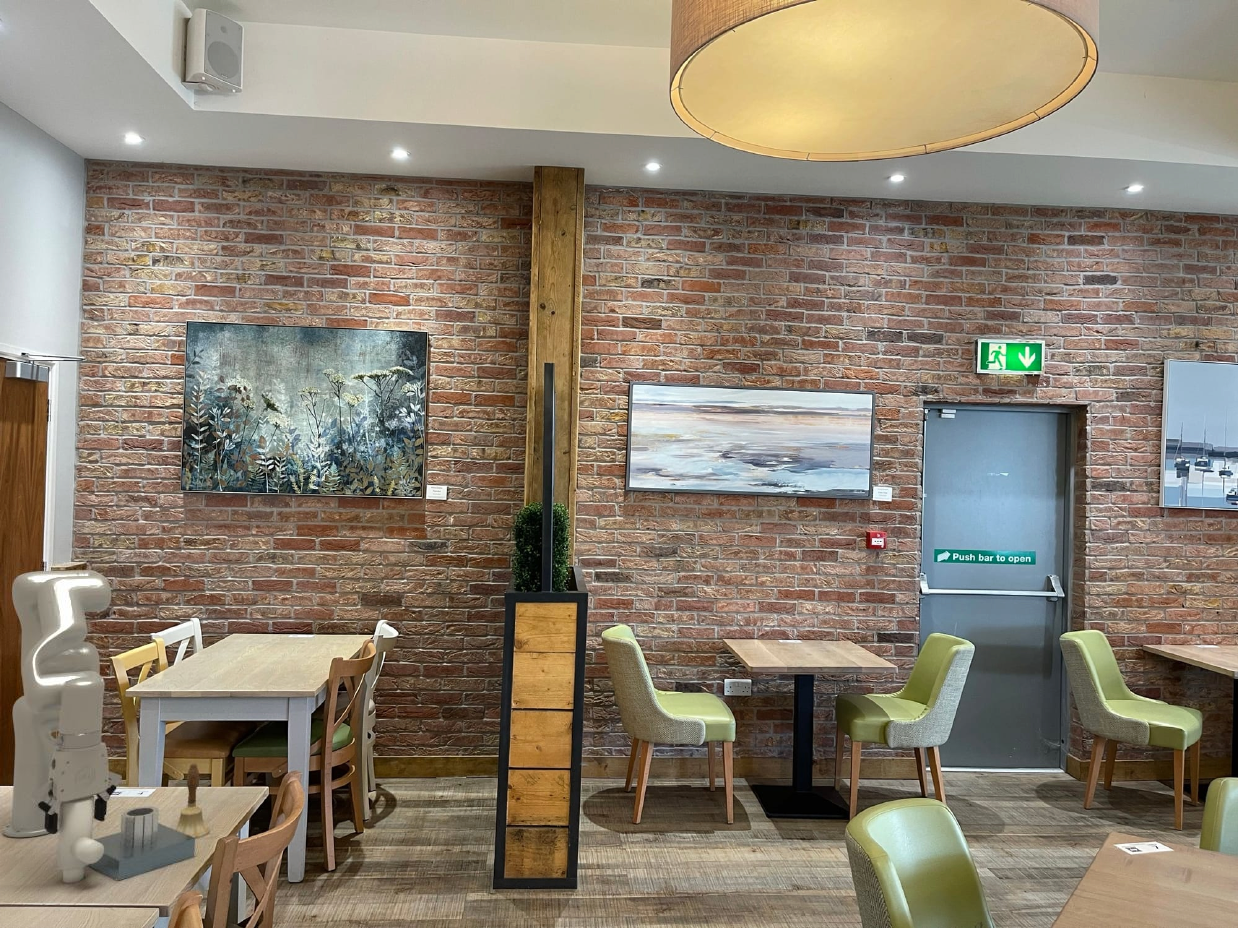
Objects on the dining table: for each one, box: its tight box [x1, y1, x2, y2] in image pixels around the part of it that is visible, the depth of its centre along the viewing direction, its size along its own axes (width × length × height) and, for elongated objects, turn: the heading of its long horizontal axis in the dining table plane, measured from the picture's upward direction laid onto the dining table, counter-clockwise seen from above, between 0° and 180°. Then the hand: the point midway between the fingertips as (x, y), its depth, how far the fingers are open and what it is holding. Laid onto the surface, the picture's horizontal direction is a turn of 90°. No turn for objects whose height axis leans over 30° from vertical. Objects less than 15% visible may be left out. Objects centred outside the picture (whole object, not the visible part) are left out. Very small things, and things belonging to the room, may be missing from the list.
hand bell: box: [173, 763, 211, 839], centre depth 207 cm, size 8×8×16 cm
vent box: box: [88, 806, 196, 882], centre depth 192 cm, size 16×16×10 cm
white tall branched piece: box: [56, 795, 104, 884], centre depth 180 cm, size 11×6×16 cm, turn 55°
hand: (75, 825), depth 181 cm, fingers open, 8 cm apart
